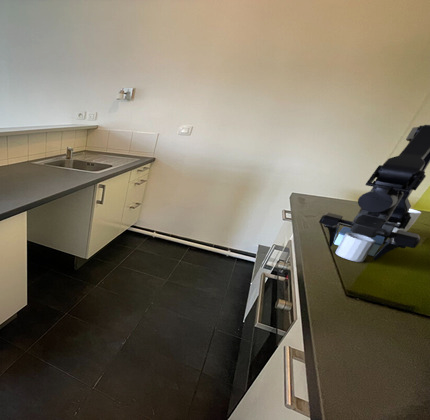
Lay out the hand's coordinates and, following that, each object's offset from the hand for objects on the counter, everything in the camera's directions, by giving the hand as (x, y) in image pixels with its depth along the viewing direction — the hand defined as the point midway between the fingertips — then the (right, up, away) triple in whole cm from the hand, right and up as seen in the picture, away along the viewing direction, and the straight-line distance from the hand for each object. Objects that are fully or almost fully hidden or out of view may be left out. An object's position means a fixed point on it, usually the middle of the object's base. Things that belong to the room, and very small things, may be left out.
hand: (351, 252), depth 77 cm
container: (+10, +1, +7) cm, 13 cm away
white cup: (+40, +4, +20) cm, 45 cm away
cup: (0, -1, +1) cm, 1 cm away
